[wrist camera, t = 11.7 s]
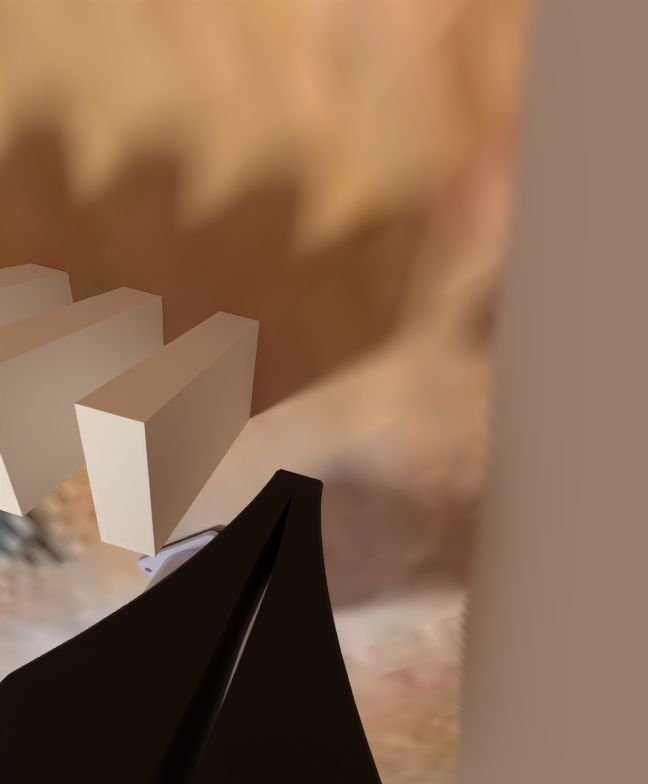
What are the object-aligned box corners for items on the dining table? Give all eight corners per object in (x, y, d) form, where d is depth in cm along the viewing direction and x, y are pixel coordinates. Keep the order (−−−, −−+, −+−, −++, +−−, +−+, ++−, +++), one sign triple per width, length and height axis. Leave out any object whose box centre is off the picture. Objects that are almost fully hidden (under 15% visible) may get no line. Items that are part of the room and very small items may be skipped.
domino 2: (161, 296, 16) (-28, 374, 9) (165, 395, 18) (22, 516, 11) (123, 286, 16) (-92, 356, 9) (133, 386, 18) (-29, 501, 12)
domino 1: (259, 321, 15) (144, 422, 8) (249, 418, 18) (155, 557, 11) (220, 311, 15) (74, 403, 9) (215, 409, 18) (101, 541, 11)
